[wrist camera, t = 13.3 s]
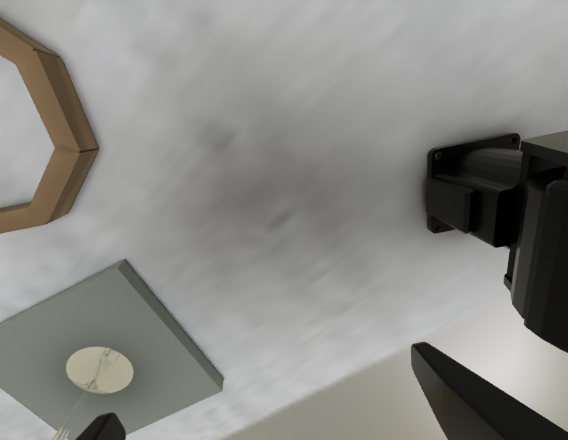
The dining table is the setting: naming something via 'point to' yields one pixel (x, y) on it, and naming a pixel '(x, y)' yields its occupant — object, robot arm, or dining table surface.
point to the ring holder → (49, 131)
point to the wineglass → (94, 378)
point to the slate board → (109, 334)
